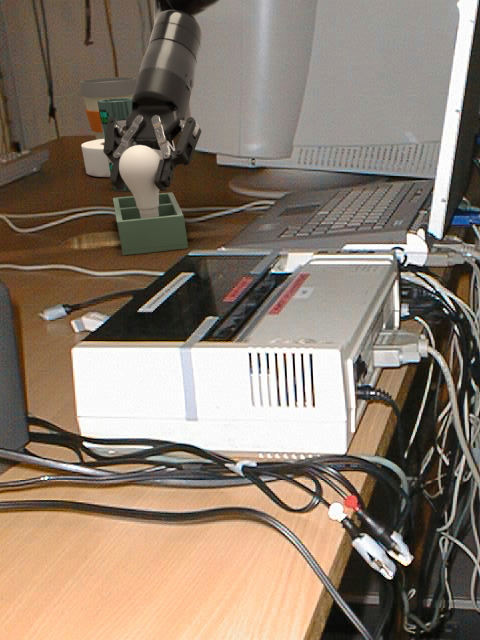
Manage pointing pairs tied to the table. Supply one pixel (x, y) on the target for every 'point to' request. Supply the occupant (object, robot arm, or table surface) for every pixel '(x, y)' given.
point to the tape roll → (98, 158)
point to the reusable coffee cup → (104, 96)
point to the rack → (150, 226)
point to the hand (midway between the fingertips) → (138, 187)
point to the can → (119, 111)
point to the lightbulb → (141, 178)
